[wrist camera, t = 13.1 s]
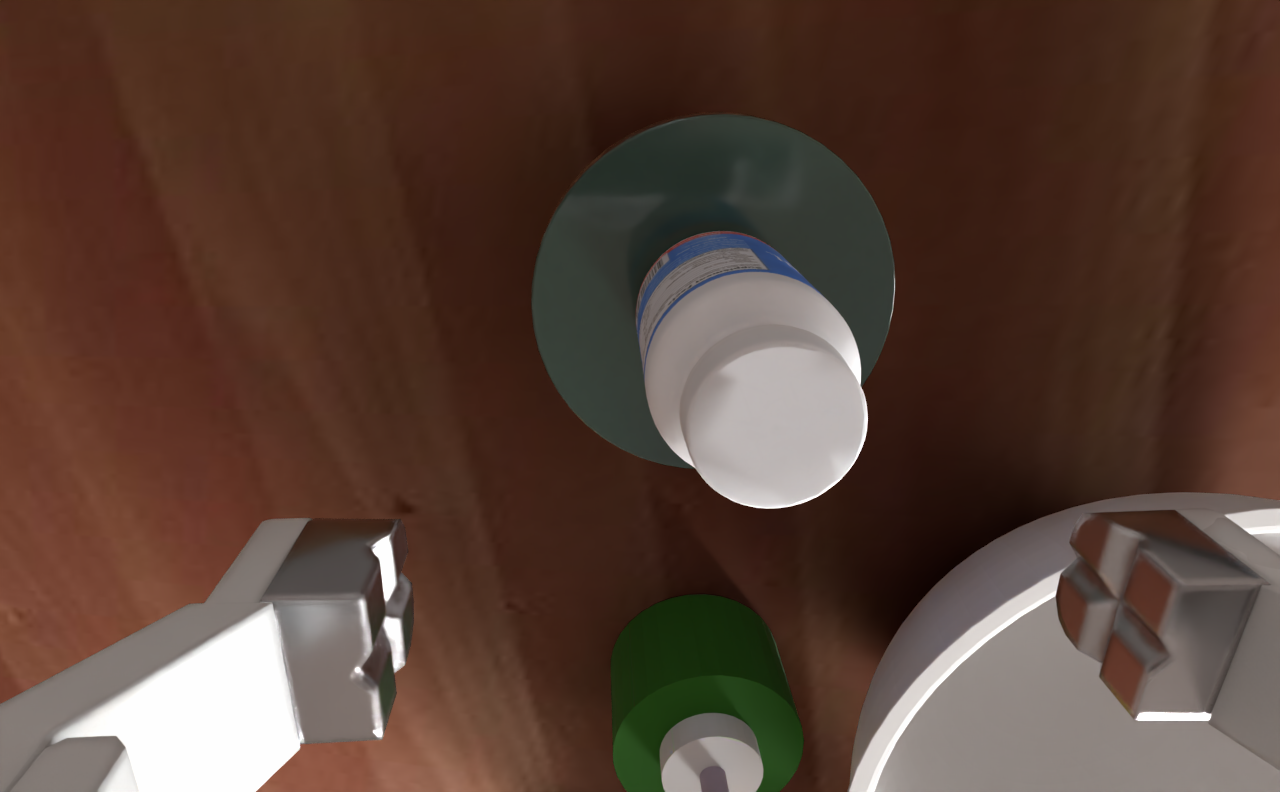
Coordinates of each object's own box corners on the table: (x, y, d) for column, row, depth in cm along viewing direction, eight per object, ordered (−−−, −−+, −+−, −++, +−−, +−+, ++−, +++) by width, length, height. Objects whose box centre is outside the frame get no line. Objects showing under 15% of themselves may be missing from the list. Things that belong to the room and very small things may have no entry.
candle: (576, 677, 40) (570, 863, 30) (685, 564, 37) (714, 727, 28) (702, 752, 42) (732, 946, 33) (811, 650, 40) (877, 827, 30)
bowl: (690, 755, 42) (716, 950, 33) (980, 293, 33) (1129, 381, 24) (1101, 884, 48) (1222, 1081, 38) (1445, 517, 39) (1711, 659, 29)
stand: (538, 100, 29) (525, 109, 24) (860, 108, 30) (923, 118, 24) (545, 402, 34) (535, 471, 28) (825, 402, 35) (870, 469, 29)
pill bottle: (818, 350, 27) (929, 493, 18) (669, 408, 28) (706, 575, 19) (767, 197, 25) (864, 272, 16) (607, 263, 26) (615, 371, 17)
